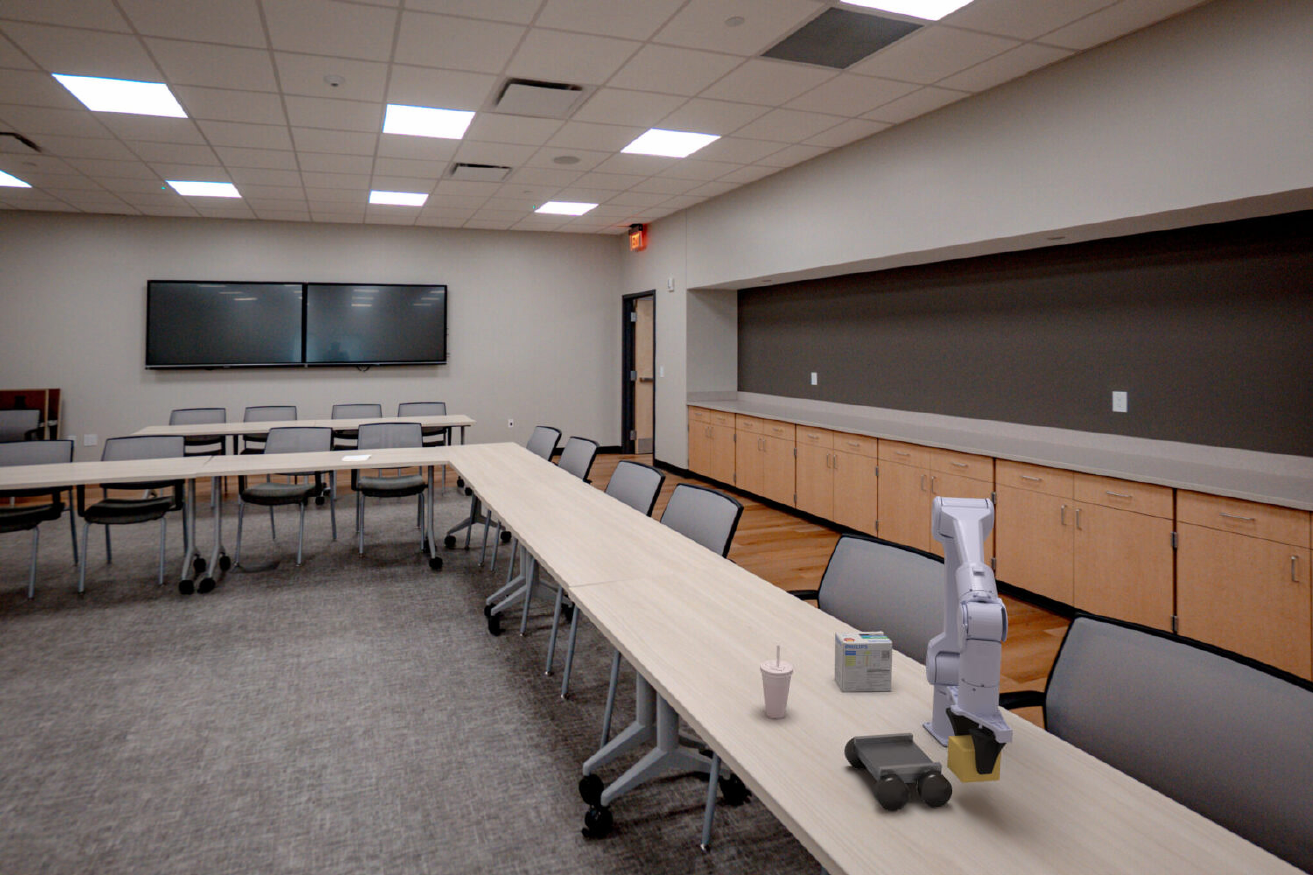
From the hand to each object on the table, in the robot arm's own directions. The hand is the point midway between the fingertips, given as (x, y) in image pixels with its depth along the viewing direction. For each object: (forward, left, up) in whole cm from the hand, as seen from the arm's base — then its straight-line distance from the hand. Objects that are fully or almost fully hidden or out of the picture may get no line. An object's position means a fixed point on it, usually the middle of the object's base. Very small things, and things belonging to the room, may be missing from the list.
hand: (974, 763), depth 113 cm
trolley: (+10, -6, -6) cm, 13 cm away
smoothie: (+22, -32, -6) cm, 39 cm away
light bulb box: (0, -42, -7) cm, 42 cm away
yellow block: (0, 0, -2) cm, 2 cm away
